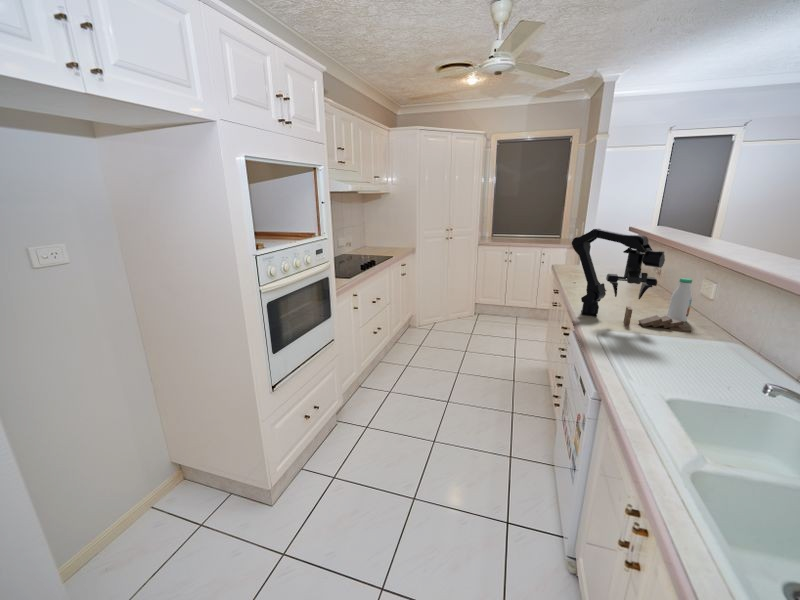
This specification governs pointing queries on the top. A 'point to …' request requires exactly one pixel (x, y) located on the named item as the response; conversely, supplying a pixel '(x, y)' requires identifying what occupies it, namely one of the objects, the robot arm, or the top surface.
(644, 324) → the domino
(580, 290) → the top surface
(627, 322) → the domino
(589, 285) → the robot arm
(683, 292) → the milk bottle
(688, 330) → the domino
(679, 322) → the domino
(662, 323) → the domino
